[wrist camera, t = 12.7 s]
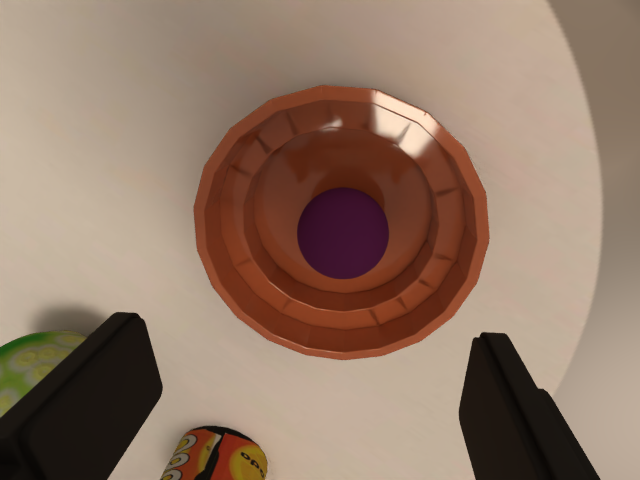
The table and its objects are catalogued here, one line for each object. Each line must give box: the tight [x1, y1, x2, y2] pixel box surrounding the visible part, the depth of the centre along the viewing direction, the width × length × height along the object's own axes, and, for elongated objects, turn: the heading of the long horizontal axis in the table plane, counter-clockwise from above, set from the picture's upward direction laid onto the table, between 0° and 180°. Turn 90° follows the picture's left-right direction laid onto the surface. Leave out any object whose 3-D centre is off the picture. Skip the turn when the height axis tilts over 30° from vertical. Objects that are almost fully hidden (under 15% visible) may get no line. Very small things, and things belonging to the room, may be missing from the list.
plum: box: [297, 187, 389, 279], centre depth 20 cm, size 5×5×5 cm
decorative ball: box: [0, 330, 87, 418], centre depth 26 cm, size 10×10×10 cm
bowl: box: [194, 85, 490, 360], centre depth 21 cm, size 15×15×5 cm
